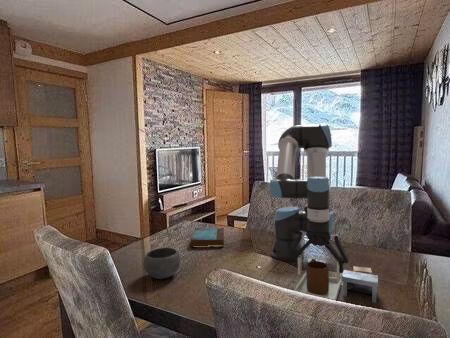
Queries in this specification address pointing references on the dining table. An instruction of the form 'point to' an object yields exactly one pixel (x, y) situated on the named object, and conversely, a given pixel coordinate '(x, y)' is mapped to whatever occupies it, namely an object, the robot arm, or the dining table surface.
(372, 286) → the gray bench
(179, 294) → the dining table surface
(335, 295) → the tray
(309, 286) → the mug
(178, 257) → the bowl
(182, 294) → the dining table surface
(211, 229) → the book
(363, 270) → the block
